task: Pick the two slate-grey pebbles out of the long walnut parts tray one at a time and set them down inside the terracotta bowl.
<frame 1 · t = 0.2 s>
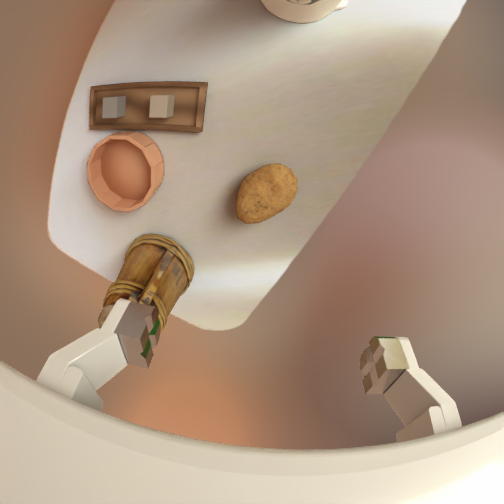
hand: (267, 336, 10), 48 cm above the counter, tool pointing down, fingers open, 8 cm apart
parts tray: (144, 104, 47), on the counter
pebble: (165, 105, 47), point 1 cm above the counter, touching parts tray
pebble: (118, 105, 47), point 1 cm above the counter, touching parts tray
tankard: (164, 257, 68), on the counter
potato: (265, 186, 56), on the counter
bowl: (130, 166, 55), on the counter
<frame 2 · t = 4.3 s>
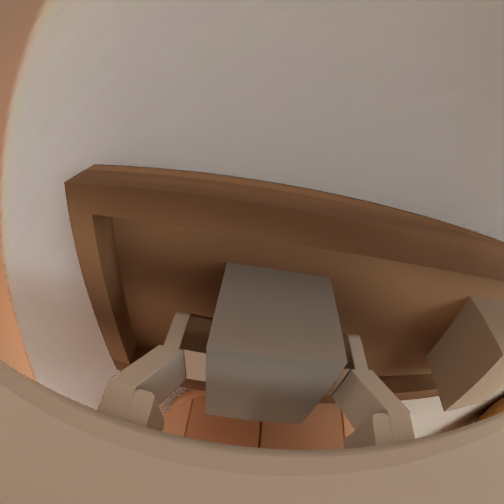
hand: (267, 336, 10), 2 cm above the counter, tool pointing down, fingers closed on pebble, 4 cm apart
parts tray: (395, 317, 11), on the counter
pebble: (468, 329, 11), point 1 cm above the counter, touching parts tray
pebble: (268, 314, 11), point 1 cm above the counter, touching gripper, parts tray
potato: (494, 402, 20), on the counter
bowl: (273, 428, 19), on the counter
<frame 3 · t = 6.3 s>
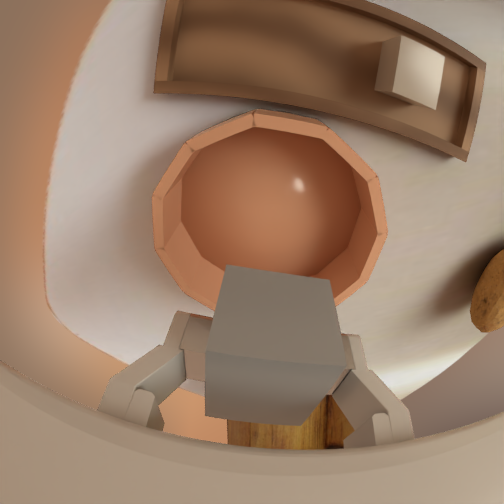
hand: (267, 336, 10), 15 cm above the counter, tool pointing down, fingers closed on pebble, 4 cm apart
parts tray: (337, 53, 16), on the counter
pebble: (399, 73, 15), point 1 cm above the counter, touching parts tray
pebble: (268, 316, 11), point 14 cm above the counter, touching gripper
tankard: (296, 366, 37), on the counter
potato: (494, 263, 25), on the counter
bowl: (269, 207, 24), on the counter
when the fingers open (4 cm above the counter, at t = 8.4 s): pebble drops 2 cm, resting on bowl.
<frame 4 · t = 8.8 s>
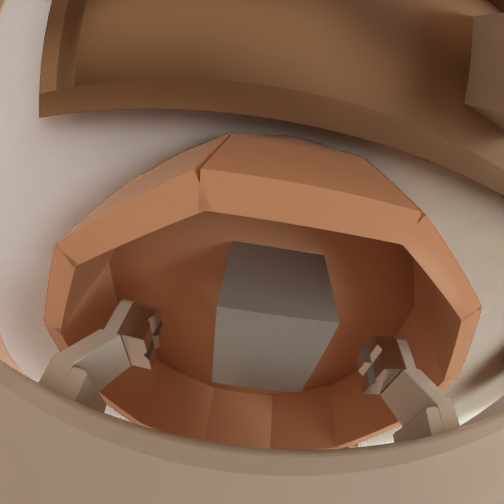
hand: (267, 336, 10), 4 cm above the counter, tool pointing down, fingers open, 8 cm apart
parts tray: (398, 24, 6), on the counter
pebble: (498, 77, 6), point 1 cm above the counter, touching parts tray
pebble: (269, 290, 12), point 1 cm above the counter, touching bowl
bowl: (262, 307, 14), on the counter
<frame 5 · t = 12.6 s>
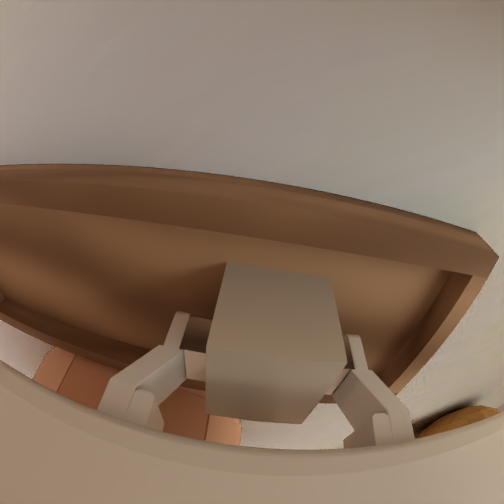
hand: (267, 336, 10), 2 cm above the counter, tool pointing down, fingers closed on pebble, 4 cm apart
parts tray: (149, 283, 11), on the counter
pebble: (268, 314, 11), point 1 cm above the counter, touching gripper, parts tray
potato: (442, 417, 20), on the counter
bowl: (139, 404, 19), on the counter
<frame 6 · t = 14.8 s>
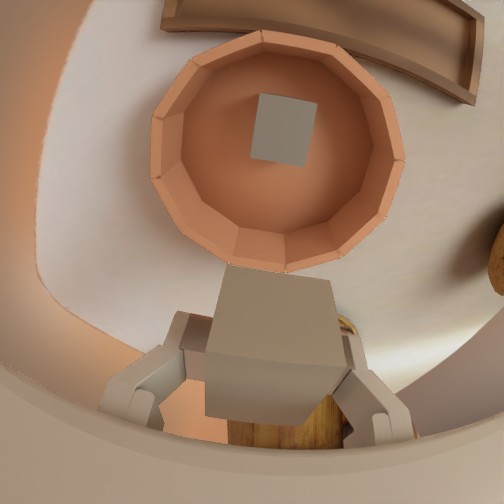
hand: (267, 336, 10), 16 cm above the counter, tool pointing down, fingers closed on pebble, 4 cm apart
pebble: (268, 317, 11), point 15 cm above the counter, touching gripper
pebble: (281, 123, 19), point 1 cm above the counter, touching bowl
tankard: (303, 339, 34), on the counter
bowl: (276, 145, 21), on the counter
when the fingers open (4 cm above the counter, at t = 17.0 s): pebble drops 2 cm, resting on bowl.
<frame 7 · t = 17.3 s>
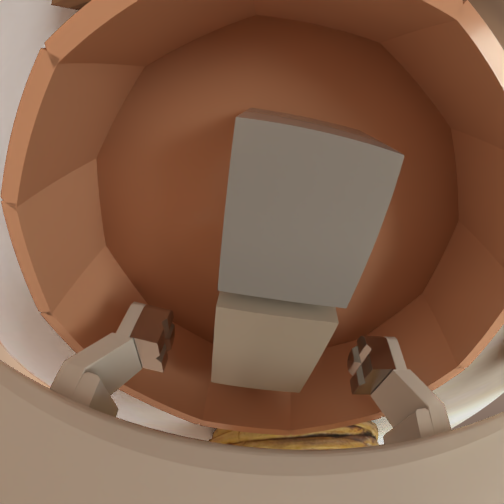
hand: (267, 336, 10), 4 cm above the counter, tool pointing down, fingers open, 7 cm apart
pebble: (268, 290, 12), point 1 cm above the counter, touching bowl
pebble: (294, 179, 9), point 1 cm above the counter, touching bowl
tankard: (309, 431, 24), on the counter
bowl: (281, 217, 11), on the counter
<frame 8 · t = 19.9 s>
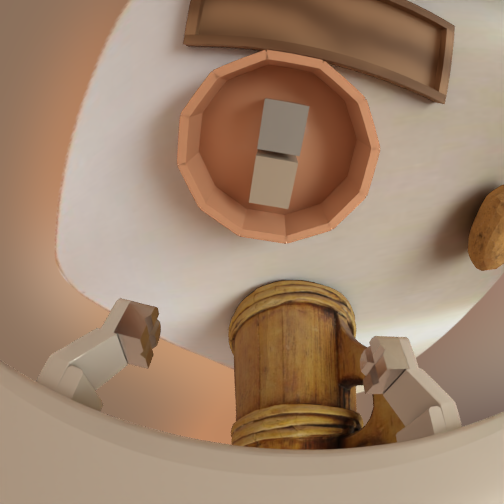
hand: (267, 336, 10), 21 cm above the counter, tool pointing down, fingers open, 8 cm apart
parts tray: (330, 19, 18), on the counter
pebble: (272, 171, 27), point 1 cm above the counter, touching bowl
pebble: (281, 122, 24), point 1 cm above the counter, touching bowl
tankard: (303, 315, 39), on the counter
potato: (486, 210, 27), on the counter
bowl: (277, 140, 26), on the counter
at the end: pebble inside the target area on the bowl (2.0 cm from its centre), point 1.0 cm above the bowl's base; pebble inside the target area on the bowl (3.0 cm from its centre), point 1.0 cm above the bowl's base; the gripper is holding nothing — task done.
